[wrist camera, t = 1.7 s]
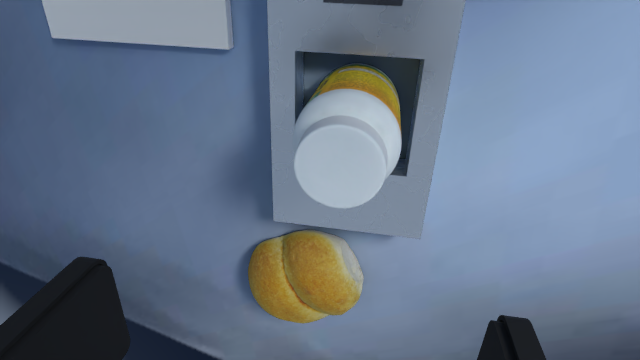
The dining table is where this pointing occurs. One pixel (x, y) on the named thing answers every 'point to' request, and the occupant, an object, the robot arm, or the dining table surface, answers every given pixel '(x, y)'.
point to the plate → (143, 21)
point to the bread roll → (305, 276)
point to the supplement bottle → (348, 137)
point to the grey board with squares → (373, 40)
